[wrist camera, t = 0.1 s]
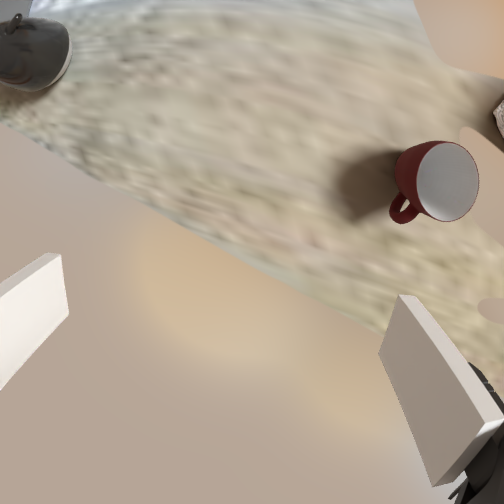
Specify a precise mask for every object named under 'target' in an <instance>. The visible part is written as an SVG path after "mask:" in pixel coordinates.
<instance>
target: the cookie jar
mask: <svg viewBox="0 0 504 504" xmlns="http://www.w3.org/2000/svg"><path fill="white" fill-rule="evenodd" d="M493 114H494V115H495V117H496V120H497V126H498V128H499V131H500V133H501V135H502V137H503V138H504V100H503V101H502V103H501V104H500V105H499V106H498V107H497V108H496V109H495V110H494V111H493Z"/></svg>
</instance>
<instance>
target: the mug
mask: <svg viewBox="0 0 504 504" xmlns="http://www.w3.org/2000/svg"><path fill="white" fill-rule="evenodd" d="M395 179H396V183H397V186H398V188H399V190H400V192H399V194H398V195H397V196H396V198H395V199H394V200H393V202H392V203H391V205H390V209H389V214H390V217H391V218H392V220H393V221H395V222H396V223H398V224H405V223H408V222H410V221H412V220H413V219H414V218H415V217H416V216H417V215H418V214H419V213H423V214H425V215H427V216H429V217H431V218H434V219H436V220H438V221H442V222H451V221H455V220H457V219H460V218H461V217H463V216H464V215H465V214H466V213H467V212H468V211H469V210H470V209H471V207H472V206H473V204H474V202H475V199H476V197H477V194H478V189H479V174H478V169H477V166H476V163H475V161H474V159H473V158H472V156H471V155H470V153H469V152H468V151H467V150H466V149H465V148H463V147H462V146H460V145H458V144H456V143H453V142H447V141H429V142H425V143H422V144H419V145H416V146H413V147H411V148H408V149H407V150H405V151H404V152H403V153H402V154H401V155H400V157H399V158H398V160H397V162H396V165H395ZM406 199H408V200H409V202H410V204H409V205H408V207H407V208H406V209H405V210H403V211H402V212H400V210H401V208H402V206H403V204H404V202H405V200H406Z"/></svg>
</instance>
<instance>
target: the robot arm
mask: <svg viewBox="0 0 504 504" xmlns="http://www.w3.org/2000/svg"><path fill="white" fill-rule="evenodd" d="M68 315H69V310H68V304H67V298H66V291H65V284H64V277H63V269H62V261H61V255H60V254H53V253H45V254H44V255H42V256H40V257H39V258H37V259H36V260H34V261H33V262H31V263H29V264H28V265H26V266H25V267H23V268H22V269H20V270H19V271H17V272H16V273H15V274H13V275H11V276H10V277H9V278H7V279H5V280H4V281H3V282H1V283H0V390H1V389H2V388H3V387H4V385H5V384H6V383H7V382H8V381H9V380H10V378H11V377H12V376H13V375H14V374H15V373H16V372H17V370H18V369H19V368H20V367H21V366H22V365H23V364H24V362H25V361H26V360H27V359H28V358H29V357H30V356H31V355H32V354H33V352H34V351H35V350H36V349H37V348H38V347H39V346H40V345H41V344H42V343H43V341H44V340H45V339H46V338H47V337H48V336H49V335H50V334H51V333H52V332H53V331H54V330H55V329H56V328H57V327H58V325H59V324H60V323H61V322H62V321H63V320H64V319H65V318H66V317H67V316H68ZM378 354H379V356H380V359H381V361H382V363H383V365H384V367H385V370H386V372H387V374H388V376H389V379H390V381H391V383H392V386H393V388H394V390H395V392H396V395H397V397H398V400H399V402H400V404H401V407H402V409H403V412H404V414H405V417H406V419H407V422H408V424H409V426H410V429H411V431H412V434H413V437H414V439H415V441H416V444H417V447H418V449H419V452H420V455H421V457H422V460H423V463H424V465H425V468H426V471H427V474H428V477H429V479H430V482H431V485H432V487H435V486H439V485H443V484H447V483H451V482H453V481H454V480H455V479H456V478H457V477H458V476H459V475H460V474H461V473H462V472H463V471H465V473H466V475H467V478H466V479H465V481H464V482H463V483H462V484H461V485H460V486H459V487H458V488H457V489H456V490H455V491H454V492H453V493H452V494H451V495H450V496H449V498H448V499H450V500H451V499H452V498H453V497H454V496H455V495H456V494H457V493H458V496H457V498H456V500H455V503H454V504H504V403H503V402H502V401H501V399H500V397H499V396H498V394H497V393H496V392H494V389H493V387H492V386H491V385H490V384H488V380H487V379H486V378H485V376H484V375H483V373H482V372H481V371H480V370H479V369H477V368H476V367H475V366H474V365H472V364H471V363H470V362H467V361H466V360H465V358H464V357H463V356H462V354H461V353H460V352H459V350H458V349H457V348H456V346H455V345H454V344H453V343H452V341H451V340H450V339H449V337H448V336H447V335H446V333H445V332H444V331H443V330H442V328H441V327H440V326H439V325H438V323H437V322H436V321H435V319H434V318H433V317H432V316H431V315H430V313H429V312H428V311H427V310H426V308H425V307H424V306H423V305H422V303H421V302H420V301H419V300H418V299H417V297H416V296H411V295H398V297H397V300H396V304H395V307H394V310H393V313H392V316H391V319H390V322H389V325H388V328H387V331H386V334H385V337H384V340H383V342H382V345H381V348H380V351H379V353H378Z"/></svg>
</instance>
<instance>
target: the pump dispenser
mask: <svg viewBox="0 0 504 504" xmlns="http://www.w3.org/2000/svg"><path fill="white" fill-rule="evenodd" d="M71 57H72V41H71V38H70V36H69V34H68V32H67V29H66V28H65V27H64V26H63V25H62V24H61V23H59V22H57V21H54V20H50V19H45V18H37V17H23V15H22V14H21V13H17V14H15V16H14V17H13V18H12V19H8V20H5V21H1V22H0V83H1V84H3V85H5V86H7V87H10V88H13V89H16V90H19V91H24V92H36V91H39V90H41V89H43V88H45V87H47V86H49V85H51V84H53V83H54V82H55V81H57V80H58V79H59V78H60V77H61V76H62V75H63V73H64V72H65V70H66V69H67V67H68V65H69V63H70V60H71Z"/></svg>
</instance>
